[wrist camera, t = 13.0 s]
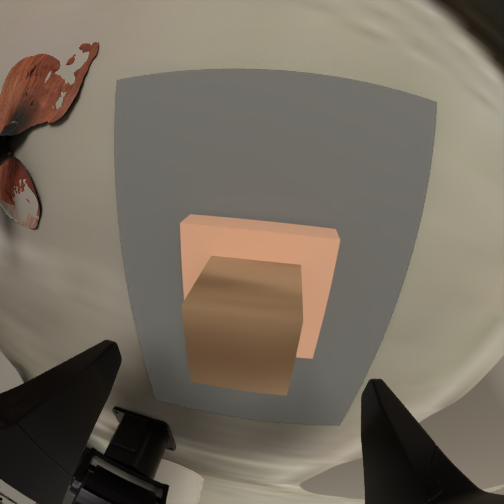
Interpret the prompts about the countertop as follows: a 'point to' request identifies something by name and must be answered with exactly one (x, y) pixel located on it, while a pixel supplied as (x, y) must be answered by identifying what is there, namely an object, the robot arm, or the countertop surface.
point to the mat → (270, 211)
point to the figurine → (32, 115)
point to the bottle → (179, 483)
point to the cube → (244, 324)
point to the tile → (266, 258)
